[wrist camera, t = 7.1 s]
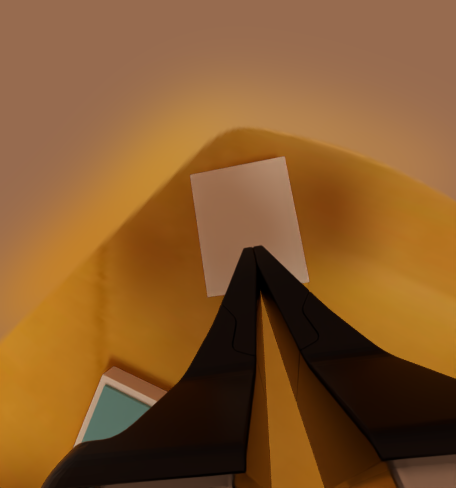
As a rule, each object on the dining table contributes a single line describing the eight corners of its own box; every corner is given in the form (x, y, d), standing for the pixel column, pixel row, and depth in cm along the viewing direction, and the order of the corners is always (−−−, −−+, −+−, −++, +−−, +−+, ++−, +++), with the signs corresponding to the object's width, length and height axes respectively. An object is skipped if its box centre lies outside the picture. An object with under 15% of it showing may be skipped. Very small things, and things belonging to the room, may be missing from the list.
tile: (309, 281, 14) (284, 156, 15) (207, 297, 15) (189, 174, 16) (302, 279, 16) (280, 168, 17) (212, 293, 17) (196, 184, 18)
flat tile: (153, 520, 16) (139, 557, 14) (73, 475, 17) (49, 503, 15) (197, 401, 16) (190, 420, 14) (117, 363, 17) (100, 375, 15)
